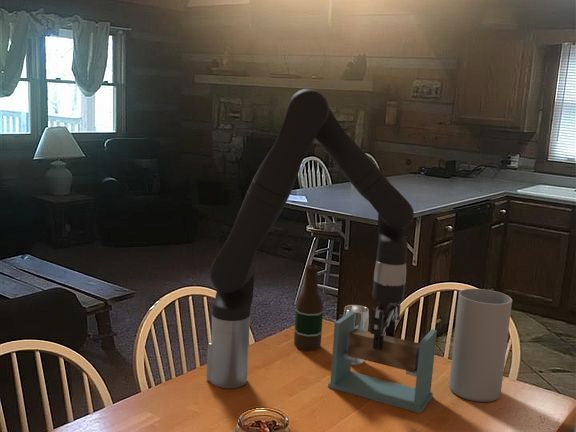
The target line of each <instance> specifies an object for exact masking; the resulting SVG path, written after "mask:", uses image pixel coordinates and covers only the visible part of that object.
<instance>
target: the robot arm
mask: <svg viewBox="0 0 576 432" xmlns="http://www.w3.org/2000/svg"><path fill="white" fill-rule="evenodd" d="M281 124H282V125H281V127H280V130H279V132H278V134H277V135H278V136H277V137H276V139H275V142H274V144H273V146H272V147H271V149H270V150H269V152H268V153H267V154H266V156H265V157H264V159H263V160H262V162H261V163H260V165H259V167H258V168H257V171H256V173H255V174H254V177H253V179H252V180H251V183H250V185H249V187H248V189H247V191H246V194H245V196H244V199H243V201H242V203H241V206H240V207H239V208H240V209H239V211H238V213H237V216H236V218H235V221H234V224H233V227H232V229H231V231H230V233H229V235H228V236H227V239H226V241H224V244H223V245H222V246H221V247H222V248H221V249H220V251H219V252H218V253H217V255H216V257H215V259H214V260H213V261H212V264H211V266H210V273H209V275H210V280H211V283H212V284H213V286H214V287H215V289H216V293H215V297H214V300H213V303H212V308H211V309H212V310H211V311H212V312H211V338H210V342H209V343H207V353H206V354H207V356H206V357H207V359H206V360H207V362H206V381H208V382H210V383H211V384H212V386H215V387H217V388H220V389H221V388H222V389H236V388H240V387H243V386H245V384H247V383H248V370H249V369H248V368H249V367H248V366H249V347H250V325H251V323H250V322H251V308H252V304H253V300H254V299H253V298H254V288H255V287H254V286H255V275H256V274H255V272H256V271H255V262H254V258H255V255H256V253H257V252H258V251H257V250H258V249H259V246H260V245H261V243H263V240H264V239H265V237H266V236H267V235H268V233H269V232H270V230H271V229H272V227H273V226H274V225H275V223H276V222H277V220H278V218H279V216H280V215H281V213H282V211H283V209H284V207H285V205H286V203H287V201H288V200H289V197H290V195H291V194H292V191H293V188H294V186H295V183H296V182H297V178H298V175H299V173H300V170H301V167H302V164H303V161H304V159H305V156H306V154H307V152H308V151H309V149H310V147H311V146H312V144H313V142H314V140H316V141H317V142H318V143H319V144H320V145H321V146H322V148H323V149H325V150H326V152H327V153H328V155H330V157H331V158H332V159H333V161H334V163H335V165H337V167H338V168H339V170H340V172H341V173H343V175H344V176H345V178H346V179H347V180H348V181H349V182H350V184H351V185H352V186H353V187H354V188H355V189H356V191H357V192H358V193H359V195H361V196H362V198H364V199H365V200H366V201H368V202H369V203H370V205H371V206H372V208H373V209H375V211H376V213H377V226H378V227H377V229H378V241H377V242H378V243H377V251H376V260H375V267H374V271H373V272H374V273H373V281H372V282H373V284H372V285H373V286H372V294H371V295H372V298H373V299H374V300H377V301H378V305H377V306H376V308H373V309H372V312H371V314H372V315H371V322H370V323H371V324H370V331H369V332H370V333H371V334H374V341H373V349H375V350H379V351H381V350H382V349H383V340H384V335H385V336H390V337H394V338H395V334H396V333H395V332H396V325H397V324H398V321H399V320H401V319H400V318H401V317H400V316H401V315H400V314H401V303H402V302H403V301H404V299H405V290H406V280H407V258H408V249H409V248H408V247H409V246H408V245H409V244H408V241H407V238H406V231H407V230H406V229H407V227H409V226H411V224H412V222H413V220H414V217H415V214H414V213H415V212H414V208H413V206H412V204H411V203H410V202H409V201H408V200H407V198H406V197H405V196H403V194H402V193H401V192H399V190H398V189H396V187H394V186H393V184H392V183H391V182H390V181H389V180H388V178H387V177H386V175H385V174H384V173H383V171H382V170H381V169H380V168H379V166H377V164H376V163H375V162H374V161H373V160H372V159H371V158H370V156H368V154H367V153H366V152H365V151H364V150H363V149H362V148H361V147H360V146H359V145H358V144H357V143H356V142H355V140H354V139H352V138H351V136H350V135H349V134H348V132H347V131H346V130H345V129H344V127H343V126H342V125H341V124H340V122H339V121H338V119H337V118H336V116H335V115H334V113H333V112H332V109H331V108H330V106H329V102H328V100H327V99H326V97H325V95H324V94H323V93H321V92H320V91H319V90H317V89H314V88H308V87H307V88H303V89H300V90H298V91H296V92H295V93H294V94H293V95H292V96H291V98H290V100H289V102H288V105H287V109H286V112H285V115H284V119H283V122H282V123H281Z"/></svg>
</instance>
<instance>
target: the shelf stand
mask: <svg viewBox="0 0 576 432" xmlns="http://www.w3.org/2000/svg"><path fill="white" fill-rule="evenodd" d="M354 318H355V312H349V313H348V314H346V315H345V316H344V315H342V317H341V318H339V319H338V320H336V321H335V322H334V330H333V341H332V342H333V343H332V357H331V370H330V371H331V373H330V381H328V383H327V387H328V388H330V389H333V390H336V391H340V392H343V393H348V394H351V395H355V396H357V395H358V397H361V396H362V398H365V399H368V400H371V401H372V400H373V401H376V402H380V403H383V404H386V405H391V406H393V407H398V408H401V409H404V410H408V411H411V412H415V413H418V414H422V412H423V411H424V409H425V408H426V407H427V405H428V404H429V403H430V401H431V400H432V399H433V397H434V393H433V392H431V391H432V381H433V372H434V363H435V352H436V351H435V350H436V343H437V342H436V341H437V333H438V332H437V329H432V328H431V329H430V331H429V332H428V333H426V334H425V336H424V337H423V338H422V339H421V340H420V342H419V343H420V347H419V357H418V368H417V370H416V371H415V372H411V371H407V370H405V375H408V376H413V377H416V379H415V387H411V386H407V385H406V384H405V385H403V384H399V383H396V382H393V381H389V380H385V379H381V378H378V377H373V376H370V375H366V374H364V373H363V374H362V373H359V372H355V371H352V370H351V367H352V365H351V360H353V361H356V360H357V358H355V357H351V356H348V346H349V333H350V332H351V331H352V330H354ZM358 359H359V358H358Z"/></svg>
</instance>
